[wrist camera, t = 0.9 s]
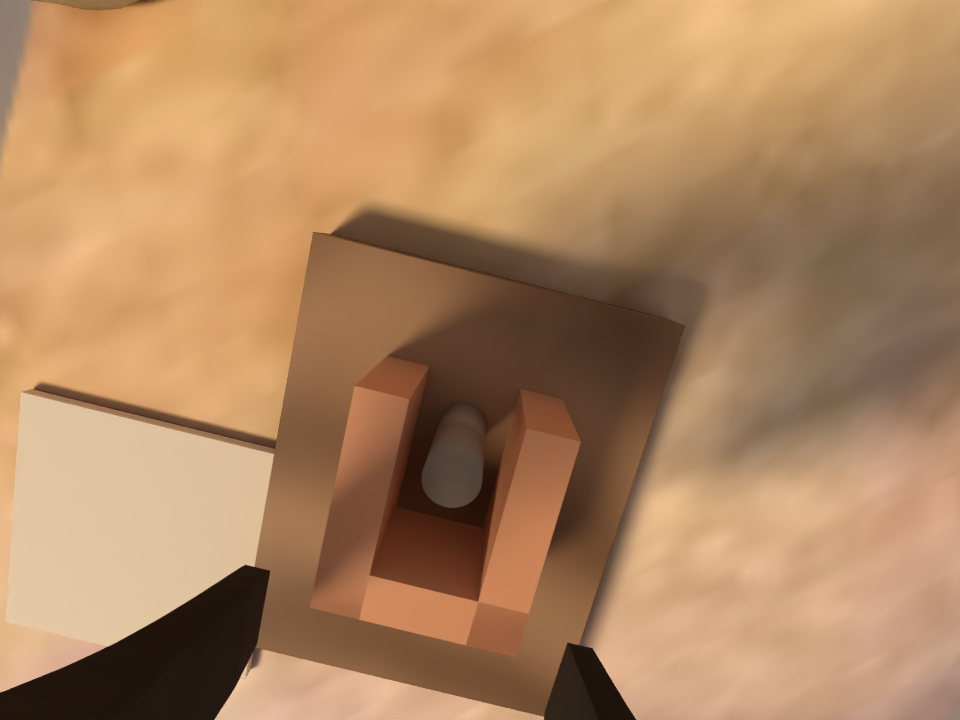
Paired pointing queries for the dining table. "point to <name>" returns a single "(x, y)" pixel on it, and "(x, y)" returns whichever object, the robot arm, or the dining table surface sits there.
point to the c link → (440, 521)
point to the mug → (92, 3)
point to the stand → (455, 448)
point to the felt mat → (124, 517)
